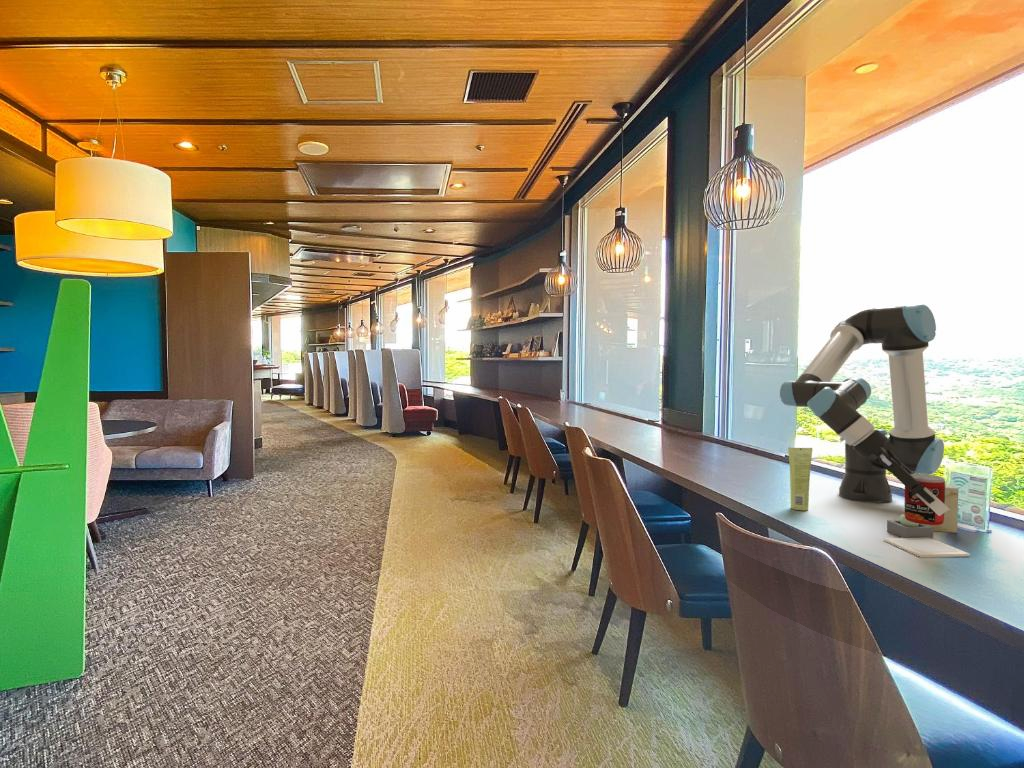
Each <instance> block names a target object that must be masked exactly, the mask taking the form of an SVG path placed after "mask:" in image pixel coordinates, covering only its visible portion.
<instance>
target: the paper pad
mask: <svg viewBox="0 0 1024 768" xmlns="http://www.w3.org/2000/svg"><path fill="white" fill-rule="evenodd" d="M882 540H884V541H883V542H885V541H886V542H885V543H887V542H888V544H889V543H890V545H892V546H894V545H895V546H894V547H896V546H897V547H896V548H898V547H900V548H899V549H901V548H902V549H901V550H903V549H904V550H903V551H905V550H906V551H905V552H907V551H909V552H911V553H910V554H912V553H913V554H912V555H914V554H915V555H914V556H916V555H917V557H918V556H920V557H919V558H948V557H949V558H955V557H957V558H958V557H971V553H969V552H966V551H964V550H961V549H958V548H956V547H953V546H951V545H949V544H946V543H943V542H941V541H939V540H936V539H934V538H933V539H931V538H902V537H895V538H894V537H890V538H883V539H882ZM909 552H908V553H909Z"/></svg>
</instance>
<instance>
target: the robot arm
mask: <svg viewBox="0 0 1024 768" xmlns="http://www.w3.org/2000/svg"><path fill="white" fill-rule="evenodd" d="M936 331H937V325H936V319H935V316H934V314H933V311H932V310H931V308H930V307H929V306H928V305H926V304H924V303H901V304H889V305H883V306H882V305H881V306H870V307H865V308H862V309H860V310H857V311H855V312H853V313H852V314H850V315H848V316H847V317H845V318H844V319H842V320H841V321H840V322H838V324H837V325H835V327H834V328H833V329H832V331H831V333H830V339H829V340H828V341H827V342H826V343H825V345H824V346H823V347H822V348H821V349H820V350H819V352H818V353H817V355H816V356H815V357H814V358H813V360H811V361H810V363H809V364H808V365H807V367H806V368H805V369H804V370H803V372H802V373H801V374H800V375H799V377H798V378H797V379H796V380H787V381H784V382H783V383H782V384H781V385H780V389H779V397H780V401H781V402H782V403H783V404H784V405H785V406H788V407H789V406H791V407H797V408H802V407H803V408H809V410H810V411H811V412H813V414H814V415H815V417H817V418H818V419H820V420H821V421H822V422H823V423H825V425H827V426H828V427H829V428H830V429H831V430H832V431H834V433H835V434H836V435H838V436H839V437H840V438H839V440H840V442H844V441H845V442H844V451H845V452H844V458H845V459H844V460H845V461H844V467H845V471H844V475H843V477H842V481H841V483H840V486H839V488H838V490H839V491H838V494H839V496H840V497H843V498H845V499H848V500H854V501H859V502H869V503H870V502H871V503H886V502H887V503H888V502H892V501H893V493H892V490H891V486H890V484H889V481H888V478H887V472H889V473H891V474H892V475H893V476H894V477H896V479H897V480H898V481H900V483H902V484H903V486H904V487H905V486H906V487H907V488H908V489H909V490H910V491H911V492H912V493H911V495H912V496H914V495H916V496H918V497H919V498H920V499H921V500H922V501H923V502H924V503H925V504H926V505H927V506H929V507H930V508H931V509H932V510H933V511H934V512H935V513H936V514H937V515H939V516H940V515H942V514H943V513H945V512H946V511H948V510H950V509H949V508H948V507H947V506H946V505H945V504H944V503H943V502H941V501H940V500H939V499H938V498H937V497H936V496H935V495H934V494H932V493H931V492H930V491H929V490H928V489H927V488H926V487H924V486H923V485H921V484H920V483H919V482H918V481H917V480H916V479H915V478H914V477H913V476H912V475H911V474H927V475H934V474H935V473H936V472H937V471H938V470H939V468H940V467H941V463H942V462H943V458H944V452H945V444H944V441H943V439H942V438H939V437H936V432H935V430H934V429H932V427H930V426H929V421H928V420H929V419H928V407H927V406H928V404H927V392H926V381H925V379H926V377H925V365H924V351H926V349H927V348H928V347H930V346H929V342H932V341H934V340H935V338H936V336H937V335H936V334H937V333H936ZM868 344H869V345H870V344H881V350H882V351H883V352H884V353H886V354H887V355H888V362H889V363H888V364H889V375H890V376H889V377H890V388H891V399H892V400H891V402H892V411H893V413H892V414H893V422H894V423H893V425H894V426H893V428H891V429H890V430H889V432H887V430H886V429H884V428H875V425H873V423H871V422H870V421H869V420H868V419H867V418H866V417H864V416H863V415H862V414H861V413H860V412H859V411H857V410H858V409H859V408H861V407H862V406H863V405H865V404H866V402H867V400H868V399H869V398H870V396H871V394H872V387H871V386H870V384H869V382H868V381H867V380H865V379H864V378H861V377H859V376H851V377H848V378H846V379H844V380H843V381H832V380H833V379H834V377H835V376H836V375H837V373H838V372H839V371H840V369H841V368H842V367H843V366H844V365H845V363H846V361H847V360H848V359H849V358H850V356H851V355H852V354H853V352H855V351H858V350H860V349H861V347H863V346H864V345H868ZM888 433H889V434H888ZM915 485H916V486H915ZM913 486H914V487H913ZM912 487H913V488H912Z"/></svg>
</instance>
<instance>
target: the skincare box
mask: <svg viewBox="0 0 1024 768" xmlns="http://www.w3.org/2000/svg"><path fill="white" fill-rule="evenodd" d="M945 505H946V506H947V507H948V508H949V509H950V510H948V511H946V512H945V513H944V522H943V524H941V525H927V526H930V527H933V532H946V533H958V516H959V511H958V510H959V488H958V487H957V486H954V485H952V484H945Z"/></svg>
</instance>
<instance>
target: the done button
mask: <svg viewBox="0 0 1024 768" xmlns="http://www.w3.org/2000/svg"><path fill="white" fill-rule="evenodd" d="M899 520H900V524H901V525H904V526H906V527H919V524H918V523H914V522H910V521H908V520H907V519H906V518H905V515H904V513H903V514H900V518H899Z"/></svg>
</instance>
